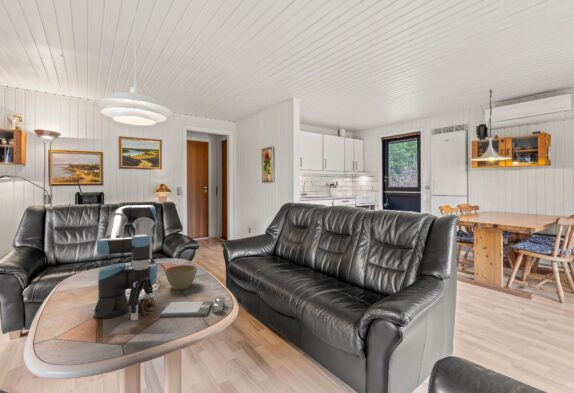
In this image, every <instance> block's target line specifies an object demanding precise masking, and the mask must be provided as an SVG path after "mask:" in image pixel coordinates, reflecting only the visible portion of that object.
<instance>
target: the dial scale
mask: <svg viewBox="0 0 574 393" xmlns="http://www.w3.org/2000/svg"><path fill="white" fill-rule="evenodd" d="M213 303H214V302H213V301H210V300H209V301H203V300H202V301H173V302H171V301H170V302H169V304H168V305H167V306H166V307H165V308H164V309H163V310H162V312H160V314H159V316H158V317H159V318H182V317H185V318H186V317H207V316H208V314H209V312H210V310H211V307H213Z"/></svg>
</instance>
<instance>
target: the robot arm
mask: <svg viewBox="0 0 574 393" xmlns="http://www.w3.org/2000/svg"><path fill="white" fill-rule="evenodd" d="M107 222H108V226H107V230H106V233H105V236H104V238H100V239H98V240H97V243H96V249H97V250H96V251H97V255H99V256H101V255H104V256H106V255H107V256H109V255H115V254H116V255H119V254H129V253H130V254H131V263H130V265H126V263H124V262H123V263H122V262H120V263H114V264H110V265H106V266H104V267H102V268H100V270H99V271H98V278H97V280H98V281H97V283H98V284H97V285H98V297H97V298H98V299H97V302H96V305H95V307H94V311H93V314H94V315H93V316H94V317H95V318H98V319H108V318H113V317H118V316H120V315H121V316H122V315H124V314H125V313H126V314H127V312H128V311H130V321H138V319H139V315H138V305H137V302H138V300H140V295H141V292H142V291H144V294H143V295H144V297H143V298H147V299H148V298H150V297H152V296H151V295H152V294H153V292H154V291H153V290H154V288H153V286H154V285H156V283H157V280H158V279H157V277H158V268H159V264H158V263H157V262H156V261H155V259H153V244H152V243H153V242H152V240H153V238H152V235H153V234H152V232H153V231H152V230H153V229H152V228H153V227H154V226H155V224H156V223H157V222H158V221H157V211H156V207H155V205H154V204H153V205H152V204H142V205H141V204H139V205H138V204H137V205H132V204H131V205H128V204H127V205H123V206H119V207H118V208H116V209H114V210H113V211H112V212H111V213H110V214H109V216H108V220H107ZM126 225H132V226H133V228H134V229H135V230H134V235H133V236H130V237H129V236H128V237H124V233H125V232H124V231H125V226H126ZM126 290H130V293H129V298H128V297H127V293H126ZM138 303H139V302H138Z"/></svg>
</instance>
